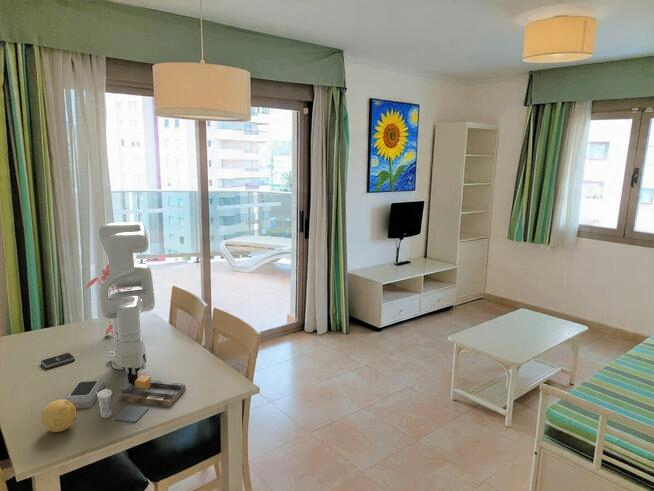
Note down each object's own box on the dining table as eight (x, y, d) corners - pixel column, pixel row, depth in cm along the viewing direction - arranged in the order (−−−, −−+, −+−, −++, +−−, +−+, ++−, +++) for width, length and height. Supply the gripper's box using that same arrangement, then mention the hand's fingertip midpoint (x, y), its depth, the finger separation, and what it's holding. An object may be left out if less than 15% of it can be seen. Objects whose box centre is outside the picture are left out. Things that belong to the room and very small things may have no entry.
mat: (113, 420, 151) (113, 418, 151) (127, 406, 159) (127, 405, 159) (135, 422, 150) (135, 421, 150) (148, 409, 158) (148, 407, 158)
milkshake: (99, 411, 156) (97, 385, 154) (115, 411, 156) (113, 385, 154) (94, 419, 151) (91, 392, 149) (110, 418, 152) (108, 392, 150)
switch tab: (135, 390, 165) (134, 380, 165) (141, 385, 169) (140, 375, 168) (145, 391, 165) (144, 381, 164) (151, 386, 169) (150, 376, 168)
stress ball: (38, 437, 143) (42, 430, 136) (39, 406, 147) (43, 398, 140) (74, 431, 149) (79, 424, 142) (73, 401, 153) (78, 393, 146)
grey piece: (118, 400, 163) (117, 391, 162) (137, 384, 174) (136, 375, 173) (170, 406, 160) (169, 397, 159) (185, 389, 171) (185, 380, 171)
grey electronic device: (60, 400, 156) (77, 379, 170) (61, 410, 157) (78, 387, 171) (90, 398, 157) (104, 377, 172) (91, 408, 158) (104, 386, 173)
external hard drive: (40, 364, 188) (40, 360, 188) (69, 356, 196) (69, 352, 196) (46, 370, 183) (46, 366, 183) (75, 361, 192) (75, 357, 191)
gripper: (104, 338, 161) (108, 385, 164) (143, 342, 158) (146, 389, 162) (117, 330, 168) (121, 375, 172) (154, 333, 166) (157, 379, 169)
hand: (133, 382), depth 167 cm, fingers closed
